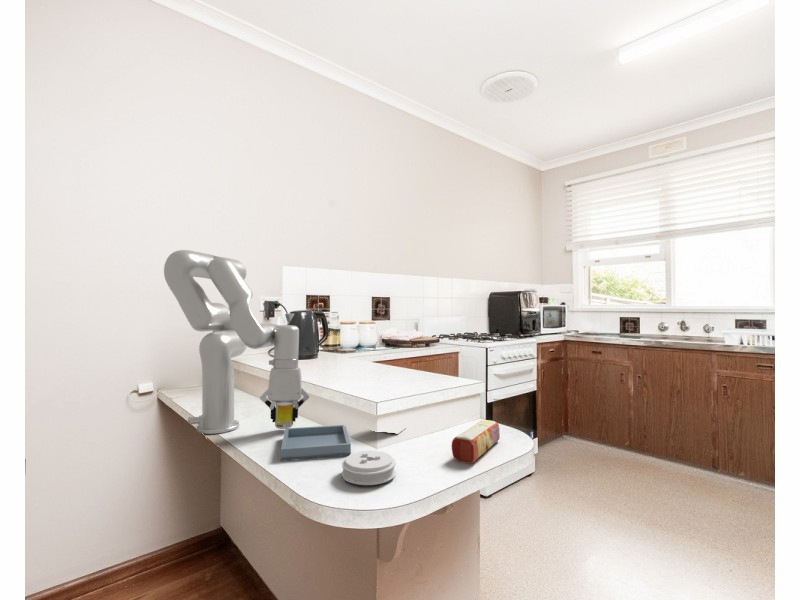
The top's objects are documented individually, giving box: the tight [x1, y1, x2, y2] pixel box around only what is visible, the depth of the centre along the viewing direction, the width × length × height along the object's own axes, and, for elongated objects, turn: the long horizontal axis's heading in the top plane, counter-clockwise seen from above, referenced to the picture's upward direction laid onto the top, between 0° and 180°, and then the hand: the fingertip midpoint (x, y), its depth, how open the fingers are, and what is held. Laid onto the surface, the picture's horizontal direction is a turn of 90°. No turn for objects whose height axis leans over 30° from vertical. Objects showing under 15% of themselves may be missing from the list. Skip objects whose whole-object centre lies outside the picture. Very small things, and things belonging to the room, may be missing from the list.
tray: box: [280, 424, 352, 461], centre depth 116 cm, size 18×18×3 cm
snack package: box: [451, 419, 500, 464], centre depth 113 cm, size 21×7×7 cm, turn 148°
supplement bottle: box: [274, 401, 294, 430], centre depth 130 cm, size 6×6×10 cm
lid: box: [341, 450, 397, 486], centre depth 96 cm, size 13×13×5 cm
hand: (284, 420), depth 130 cm, fingers closed on supplement bottle, 5 cm apart
